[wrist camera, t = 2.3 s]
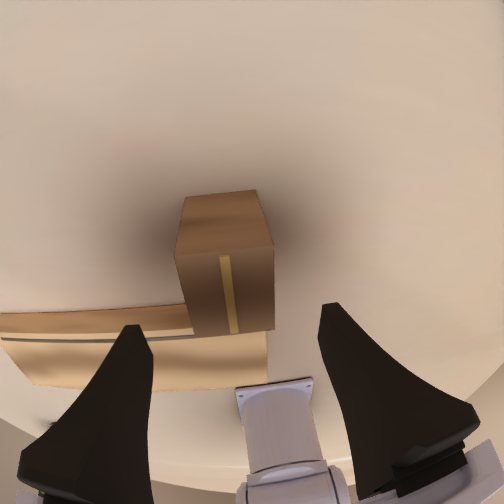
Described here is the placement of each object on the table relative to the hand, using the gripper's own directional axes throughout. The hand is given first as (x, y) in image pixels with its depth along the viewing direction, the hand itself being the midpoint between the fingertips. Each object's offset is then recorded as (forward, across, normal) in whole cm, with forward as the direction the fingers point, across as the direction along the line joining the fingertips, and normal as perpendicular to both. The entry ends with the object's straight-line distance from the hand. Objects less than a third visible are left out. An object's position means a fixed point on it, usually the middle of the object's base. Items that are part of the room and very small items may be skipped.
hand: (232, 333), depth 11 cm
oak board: (+8, +10, +10) cm, 16 cm away
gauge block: (+8, 0, 0) cm, 8 cm away
